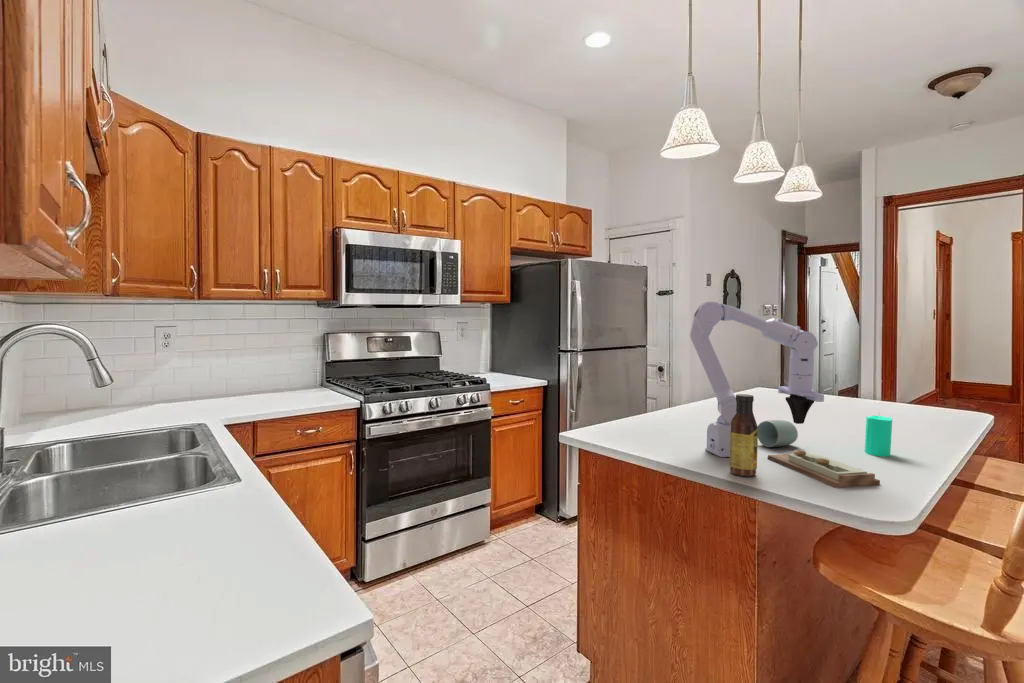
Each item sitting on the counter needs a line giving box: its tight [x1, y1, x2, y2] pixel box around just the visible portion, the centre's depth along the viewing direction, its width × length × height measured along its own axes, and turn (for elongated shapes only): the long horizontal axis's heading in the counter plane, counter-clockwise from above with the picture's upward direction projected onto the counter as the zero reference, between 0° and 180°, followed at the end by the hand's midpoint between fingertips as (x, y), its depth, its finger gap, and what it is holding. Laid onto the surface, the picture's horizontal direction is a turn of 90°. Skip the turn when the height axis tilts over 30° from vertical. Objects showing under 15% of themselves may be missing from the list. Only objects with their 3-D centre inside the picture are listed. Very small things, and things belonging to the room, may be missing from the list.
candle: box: [864, 412, 893, 458], centre depth 145 cm, size 6×6×12 cm
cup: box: [757, 419, 799, 448], centre depth 153 cm, size 8×8×10 cm
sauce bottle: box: [729, 393, 759, 477], centre depth 126 cm, size 6×6×20 cm
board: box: [767, 449, 881, 489], centre depth 129 cm, size 12×23×4 cm, turn 11°
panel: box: [788, 452, 868, 480], centre depth 127 cm, size 8×16×2 cm, turn 11°
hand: (798, 423), depth 139 cm, fingers closed
